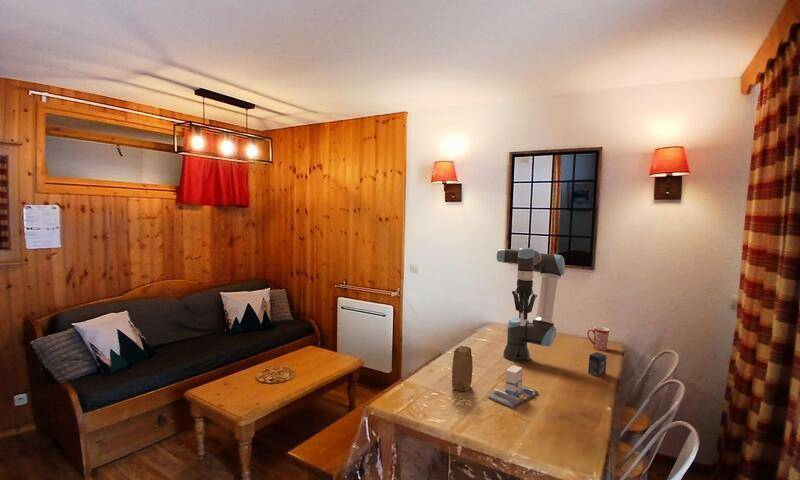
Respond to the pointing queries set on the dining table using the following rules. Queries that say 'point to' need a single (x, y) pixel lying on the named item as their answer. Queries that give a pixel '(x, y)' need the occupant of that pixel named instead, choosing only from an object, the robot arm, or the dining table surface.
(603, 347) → the mug
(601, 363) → the box
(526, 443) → the dining table surface
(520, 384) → the ink box
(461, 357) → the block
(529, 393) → the rail board
